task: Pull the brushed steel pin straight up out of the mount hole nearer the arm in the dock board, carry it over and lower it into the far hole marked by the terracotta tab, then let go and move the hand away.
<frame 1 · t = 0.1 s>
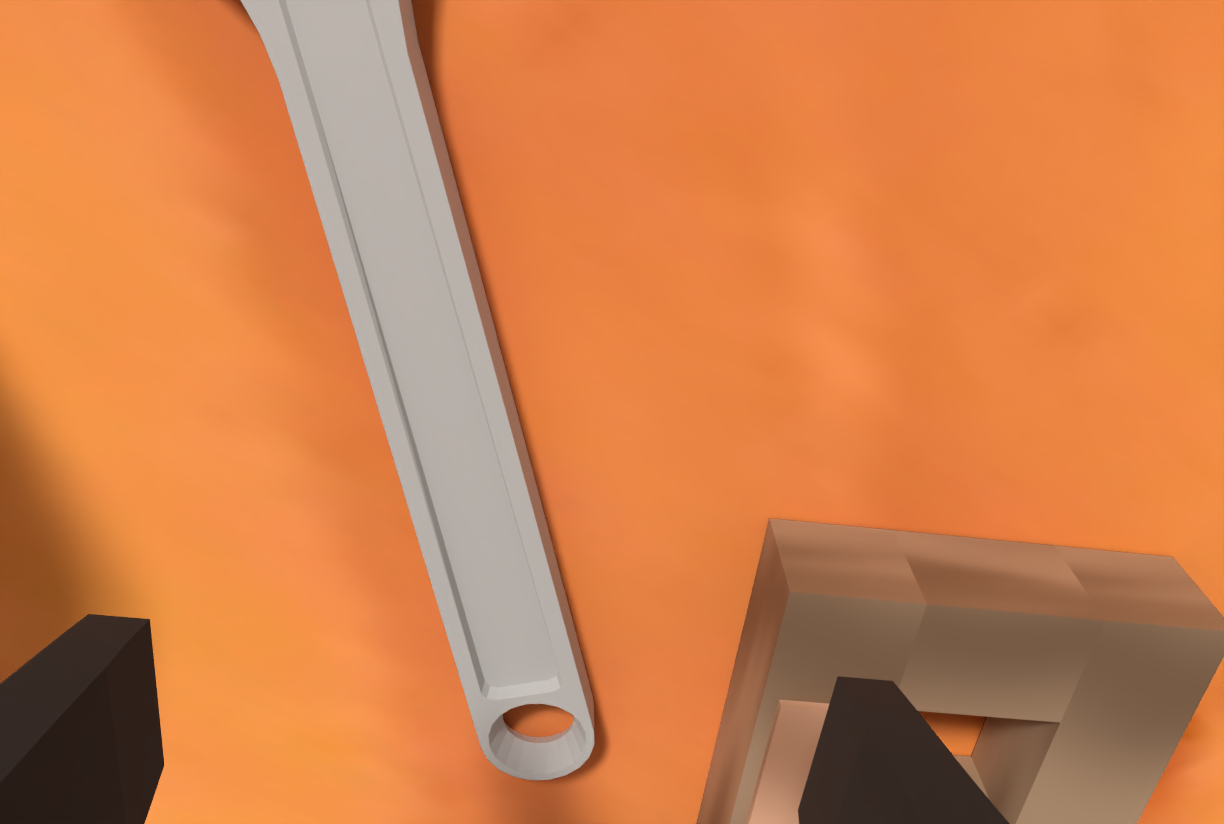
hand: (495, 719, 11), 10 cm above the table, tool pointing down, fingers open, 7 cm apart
adjustable wrench: (379, 239, 20), on the table
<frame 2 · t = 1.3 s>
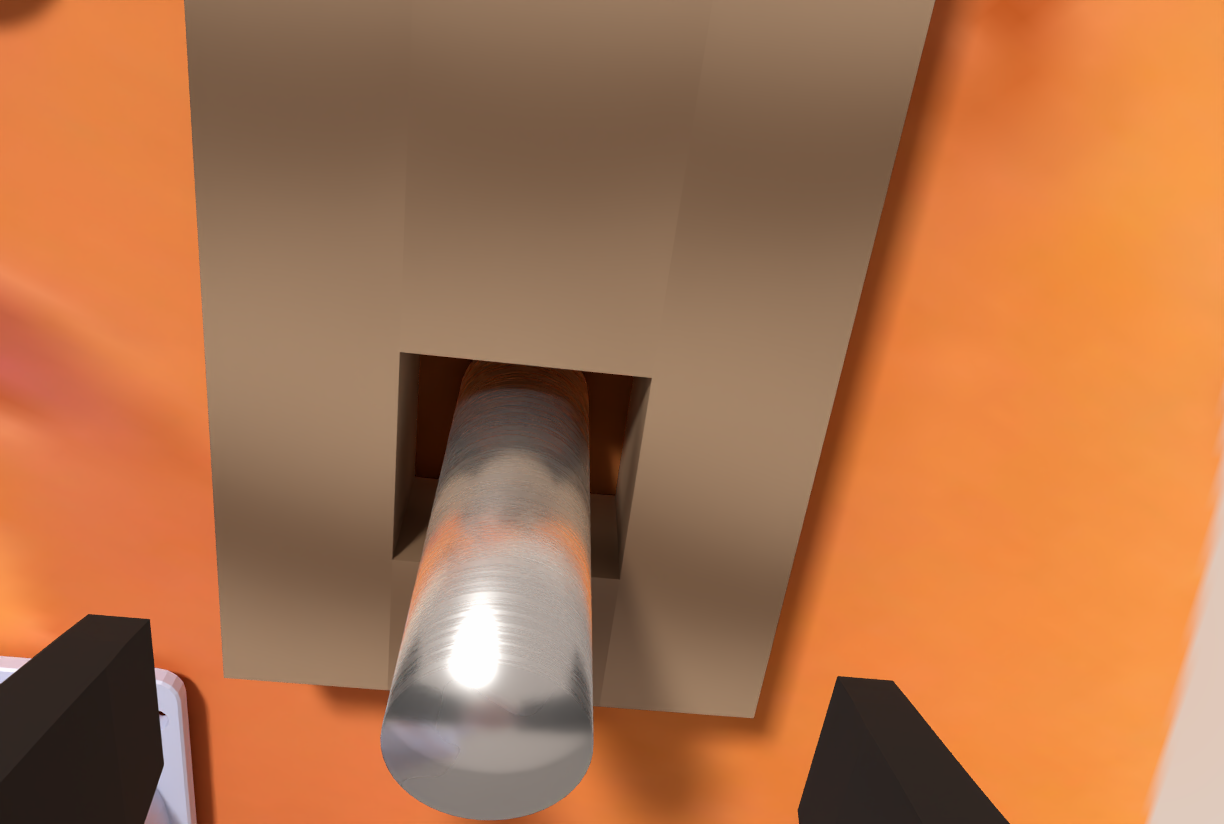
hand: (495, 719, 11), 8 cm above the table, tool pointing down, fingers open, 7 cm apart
dock board: (550, 134, 16), on the table
steel pin: (524, 397, 18), resting in dock board
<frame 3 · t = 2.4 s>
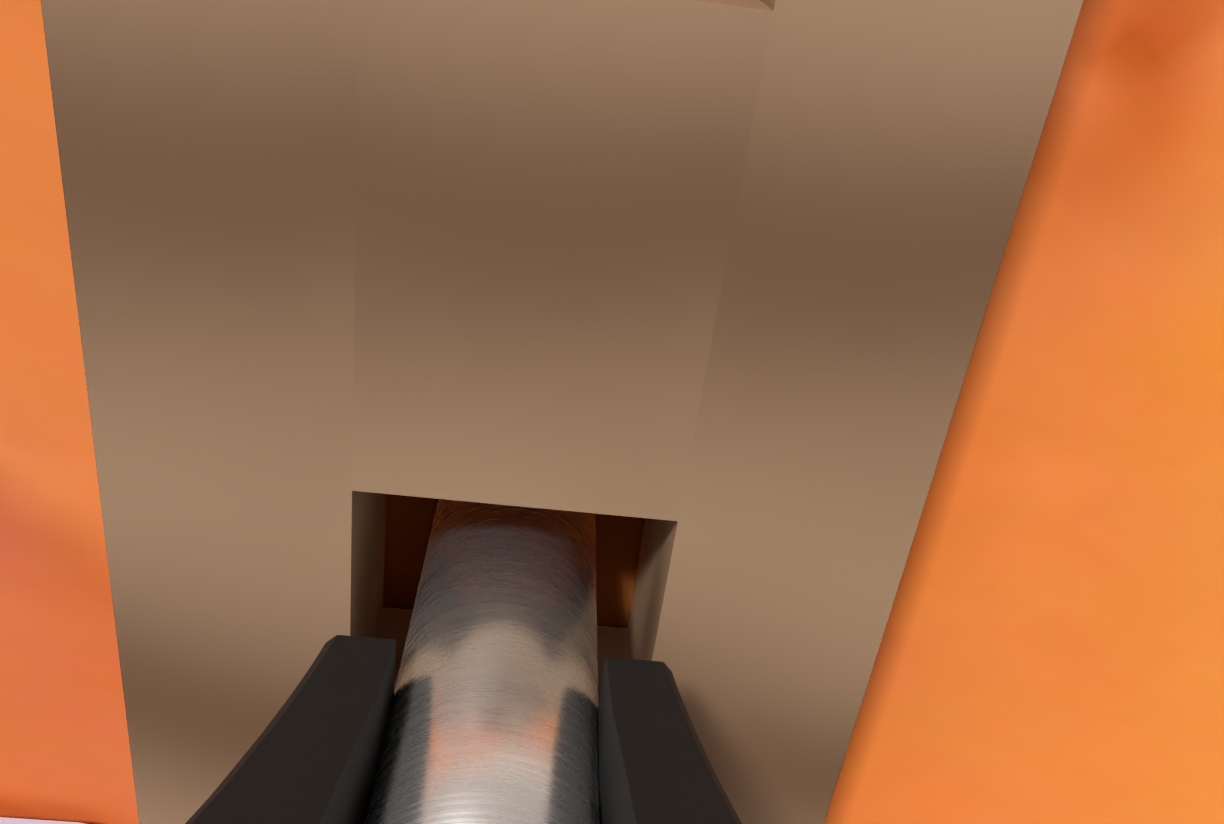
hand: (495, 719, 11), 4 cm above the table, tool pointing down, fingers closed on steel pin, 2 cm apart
dock board: (547, 202, 12), on the table
steel pin: (516, 515, 15), resting in dock board, touching gripper
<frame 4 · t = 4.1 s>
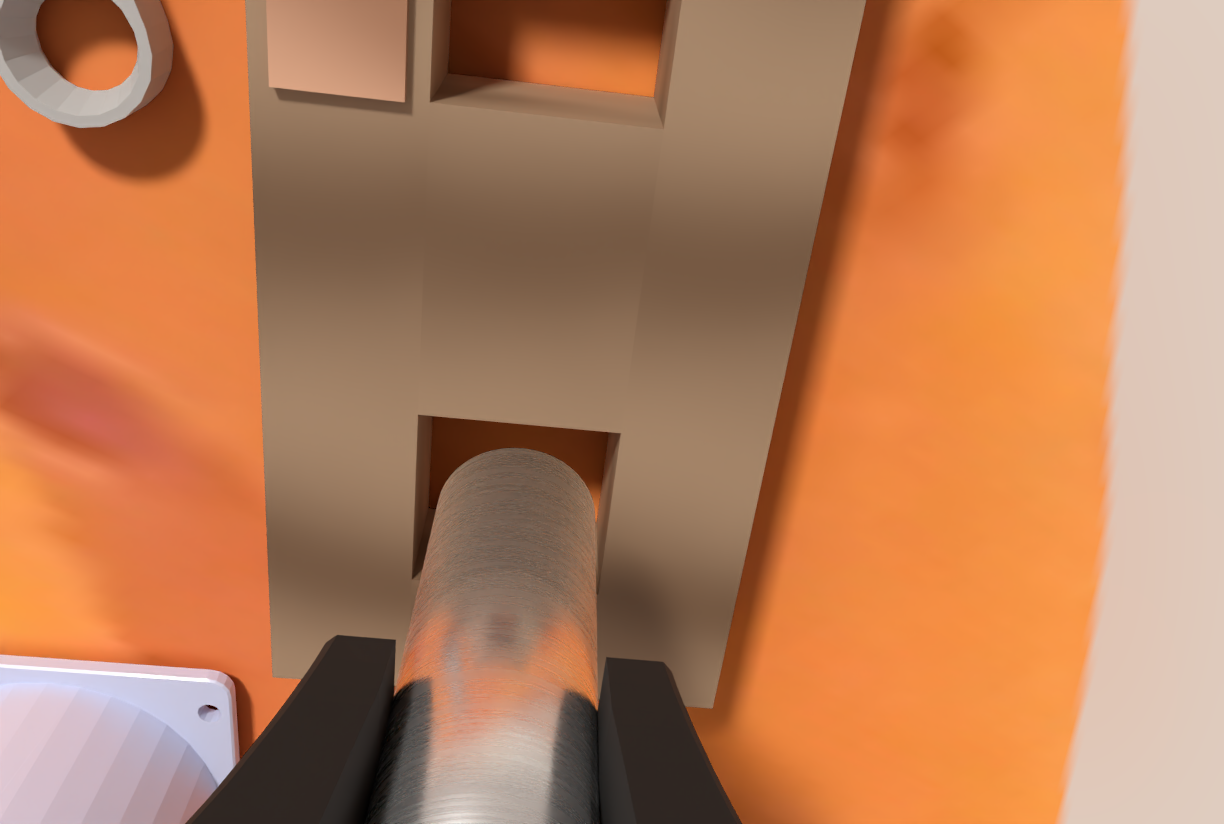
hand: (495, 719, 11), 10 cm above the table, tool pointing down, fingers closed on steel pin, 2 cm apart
dock board: (538, 233, 19), on the table
steel pin: (516, 516, 15), point 7 cm above the table, touching gripper
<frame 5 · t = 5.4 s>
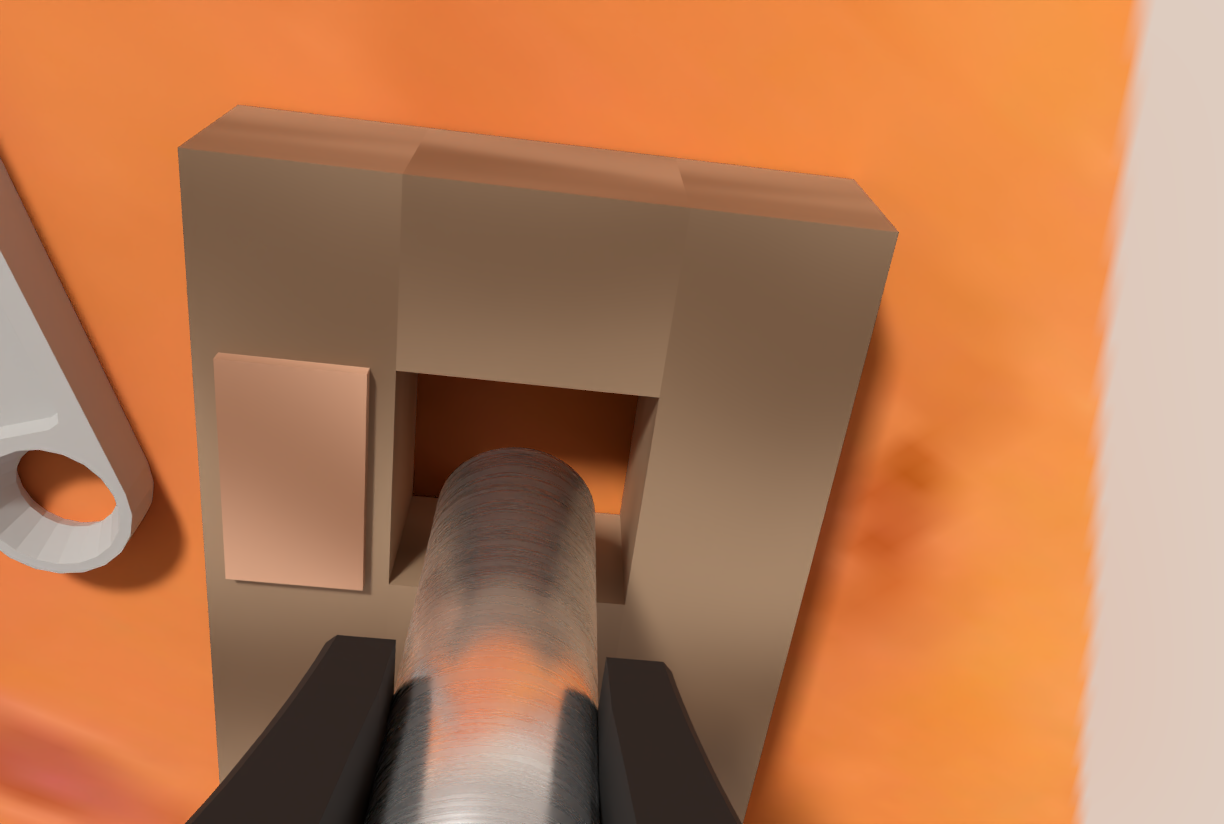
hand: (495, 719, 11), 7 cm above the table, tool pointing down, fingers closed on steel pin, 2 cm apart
dock board: (504, 627, 19), on the table
steel pin: (516, 515, 15), point 3 cm above the table, touching gripper
when the fingers open (5 cm above the table, at t = 6.1 s): steel pin drops 1 cm, resting in dock board.
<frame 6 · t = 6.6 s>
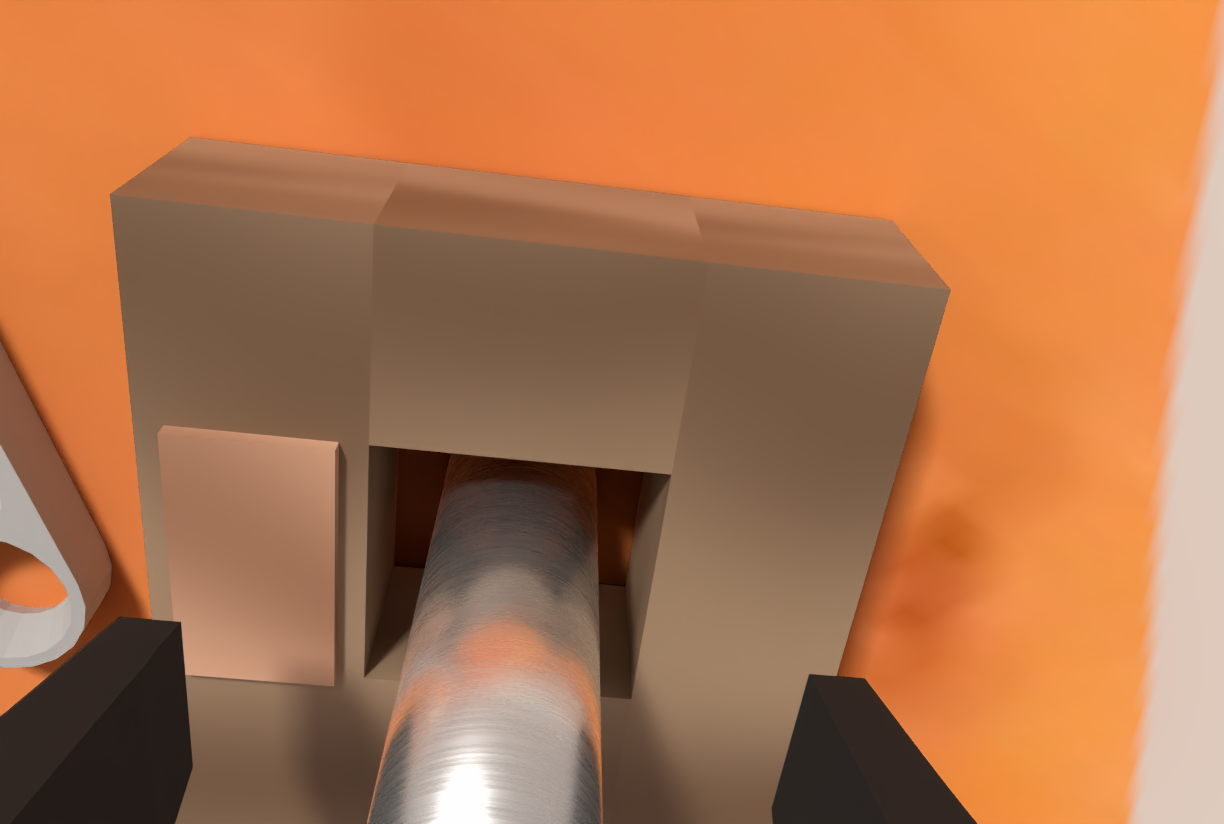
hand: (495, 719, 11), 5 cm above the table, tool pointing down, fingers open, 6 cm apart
dock board: (497, 705, 18), on the table
steel pin: (522, 477, 15), resting in dock board
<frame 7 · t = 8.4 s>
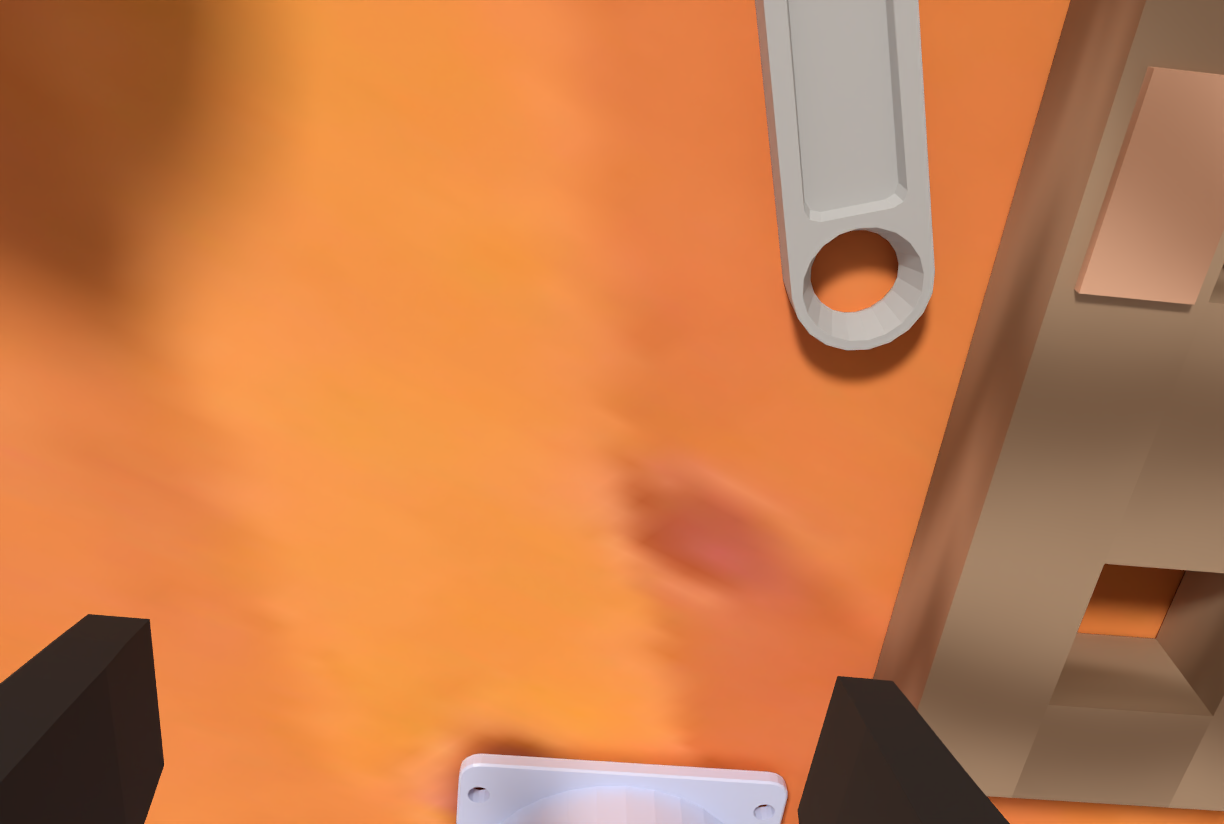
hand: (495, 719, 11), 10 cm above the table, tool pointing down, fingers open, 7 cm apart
dock board: (1178, 389, 21), on the table
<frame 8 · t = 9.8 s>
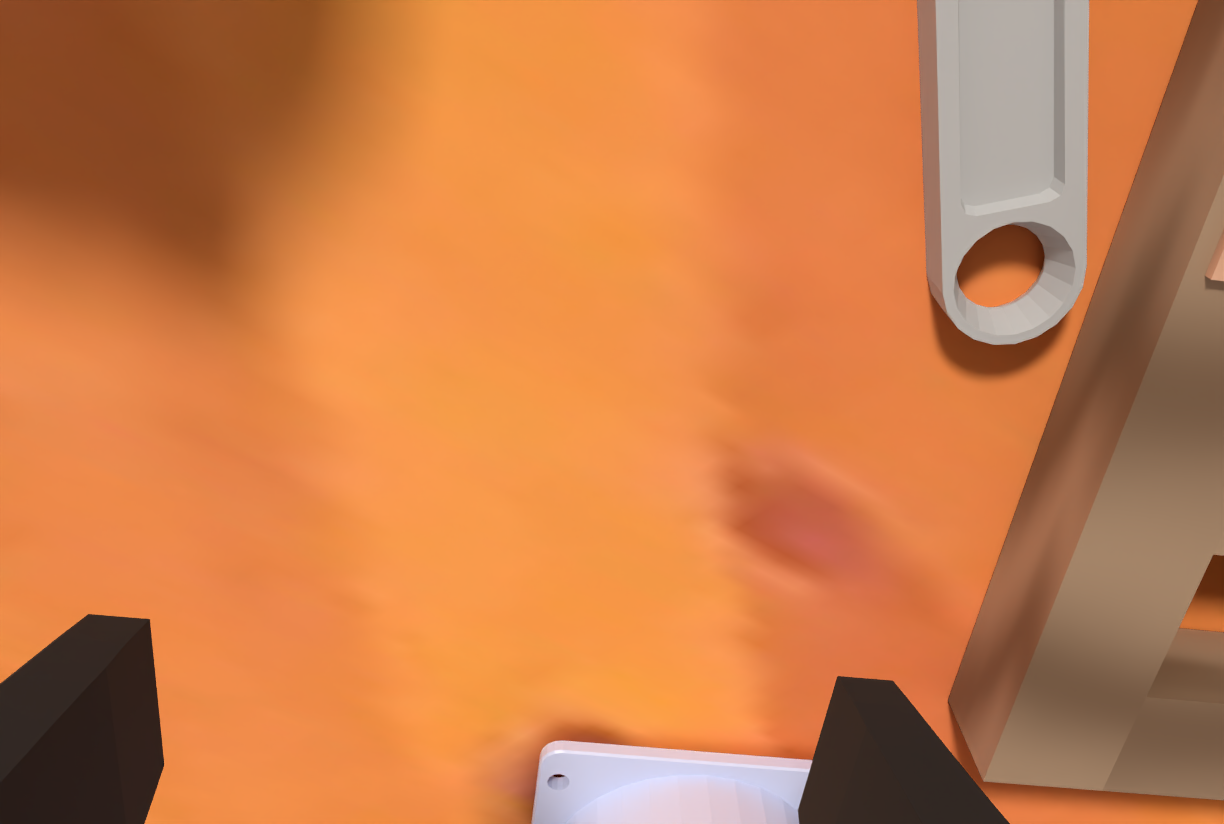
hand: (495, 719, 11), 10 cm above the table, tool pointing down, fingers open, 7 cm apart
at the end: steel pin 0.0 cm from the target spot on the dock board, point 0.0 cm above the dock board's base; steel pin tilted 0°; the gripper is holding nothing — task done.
